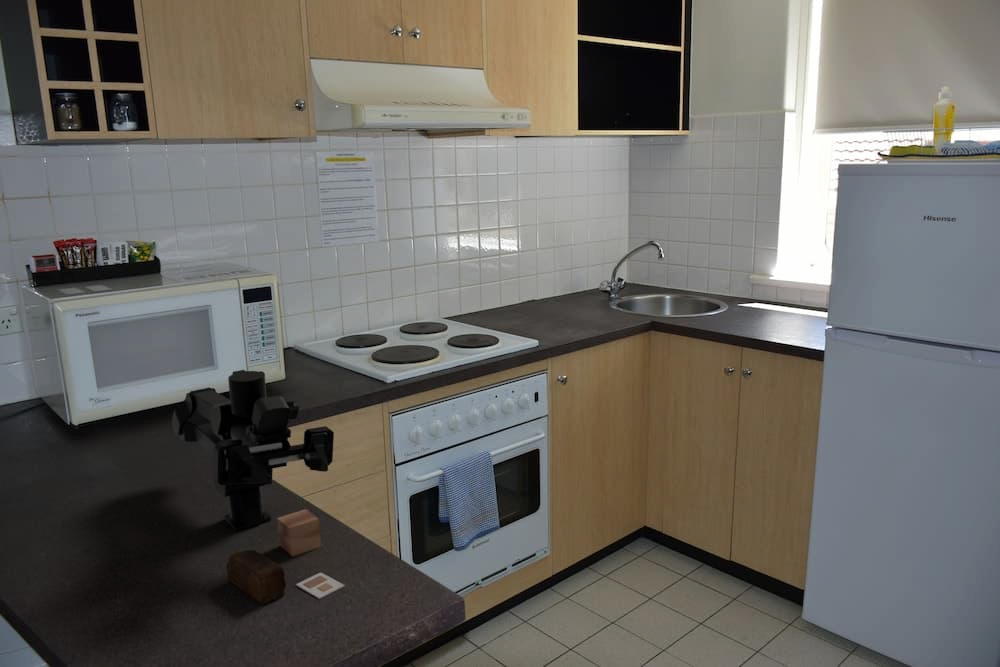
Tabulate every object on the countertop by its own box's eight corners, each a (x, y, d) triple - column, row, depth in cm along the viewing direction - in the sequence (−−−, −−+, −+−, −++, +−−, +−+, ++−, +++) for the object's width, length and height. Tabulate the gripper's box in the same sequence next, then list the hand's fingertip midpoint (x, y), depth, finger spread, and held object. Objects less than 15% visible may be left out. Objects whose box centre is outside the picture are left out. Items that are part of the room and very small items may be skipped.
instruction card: (295, 585, 114) (295, 583, 114) (320, 573, 117) (320, 571, 117) (319, 599, 110) (319, 597, 110) (344, 586, 113) (344, 584, 113)
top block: (280, 546, 126) (276, 518, 125) (308, 536, 129) (305, 509, 128) (292, 557, 122) (289, 528, 121) (321, 547, 125) (318, 518, 124)
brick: (287, 595, 111) (284, 566, 110) (262, 607, 108) (259, 577, 108) (251, 572, 119) (248, 544, 118) (227, 582, 116) (224, 553, 115)
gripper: (200, 398, 118) (237, 431, 106) (313, 385, 129) (357, 414, 118) (199, 466, 120) (235, 505, 109) (310, 447, 132) (353, 481, 120)
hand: (298, 473), depth 114 cm, fingers open, 9 cm apart
